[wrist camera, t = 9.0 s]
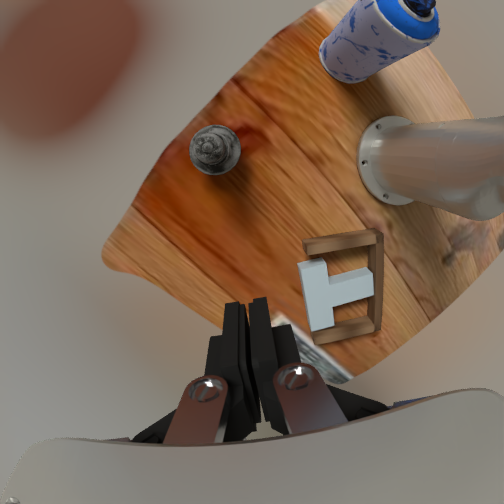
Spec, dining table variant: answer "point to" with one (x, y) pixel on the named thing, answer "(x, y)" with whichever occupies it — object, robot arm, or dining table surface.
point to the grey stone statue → (215, 149)
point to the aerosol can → (378, 37)
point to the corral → (376, 266)
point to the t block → (330, 290)
